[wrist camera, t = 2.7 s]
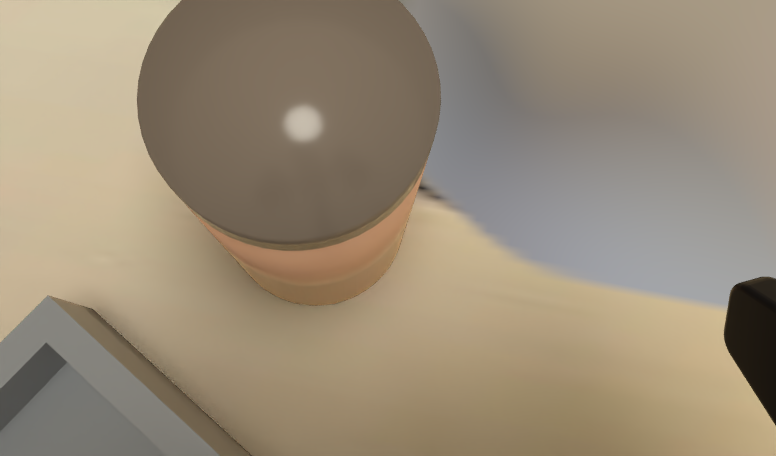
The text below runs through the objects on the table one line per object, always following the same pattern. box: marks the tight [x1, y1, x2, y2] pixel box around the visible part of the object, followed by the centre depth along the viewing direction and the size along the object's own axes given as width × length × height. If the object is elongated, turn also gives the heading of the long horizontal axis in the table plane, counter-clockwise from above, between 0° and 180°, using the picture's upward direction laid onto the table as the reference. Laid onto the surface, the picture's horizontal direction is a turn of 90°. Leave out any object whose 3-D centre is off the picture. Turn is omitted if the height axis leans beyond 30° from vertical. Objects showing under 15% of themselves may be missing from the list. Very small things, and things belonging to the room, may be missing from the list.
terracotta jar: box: [137, 0, 441, 305], centre depth 16 cm, size 5×5×9 cm
